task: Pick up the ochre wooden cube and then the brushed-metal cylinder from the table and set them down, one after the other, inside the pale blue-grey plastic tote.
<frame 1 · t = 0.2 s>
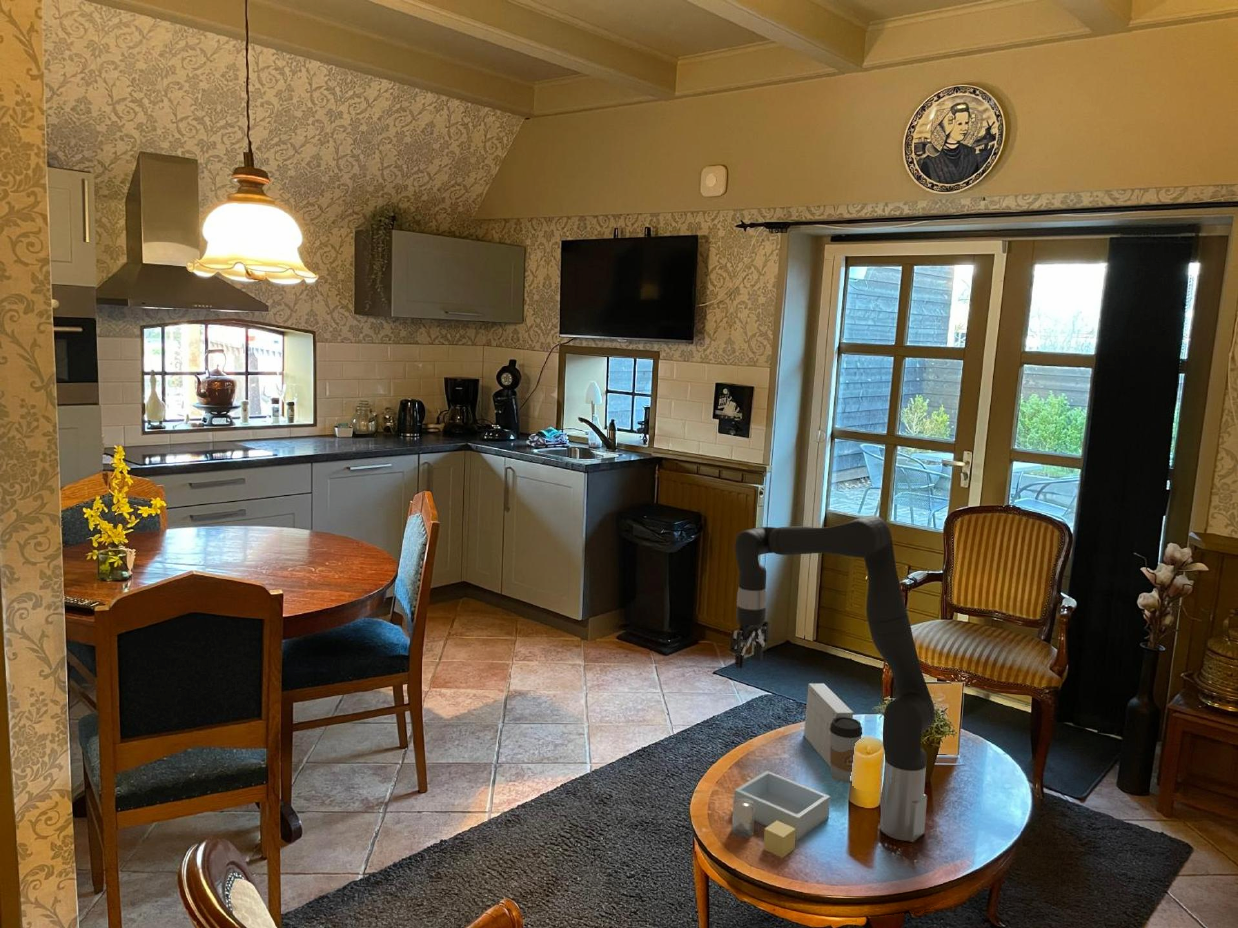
hand: (748, 663, 244), 29 cm above the table, fingers open, 8 cm apart
coffee cup: (842, 777, 244), on the table
skincare box: (825, 751, 259), on the table
ochre cube: (779, 848, 210), on the table
metal cylinder: (742, 831, 217), on the table
tote: (780, 814, 225), on the table
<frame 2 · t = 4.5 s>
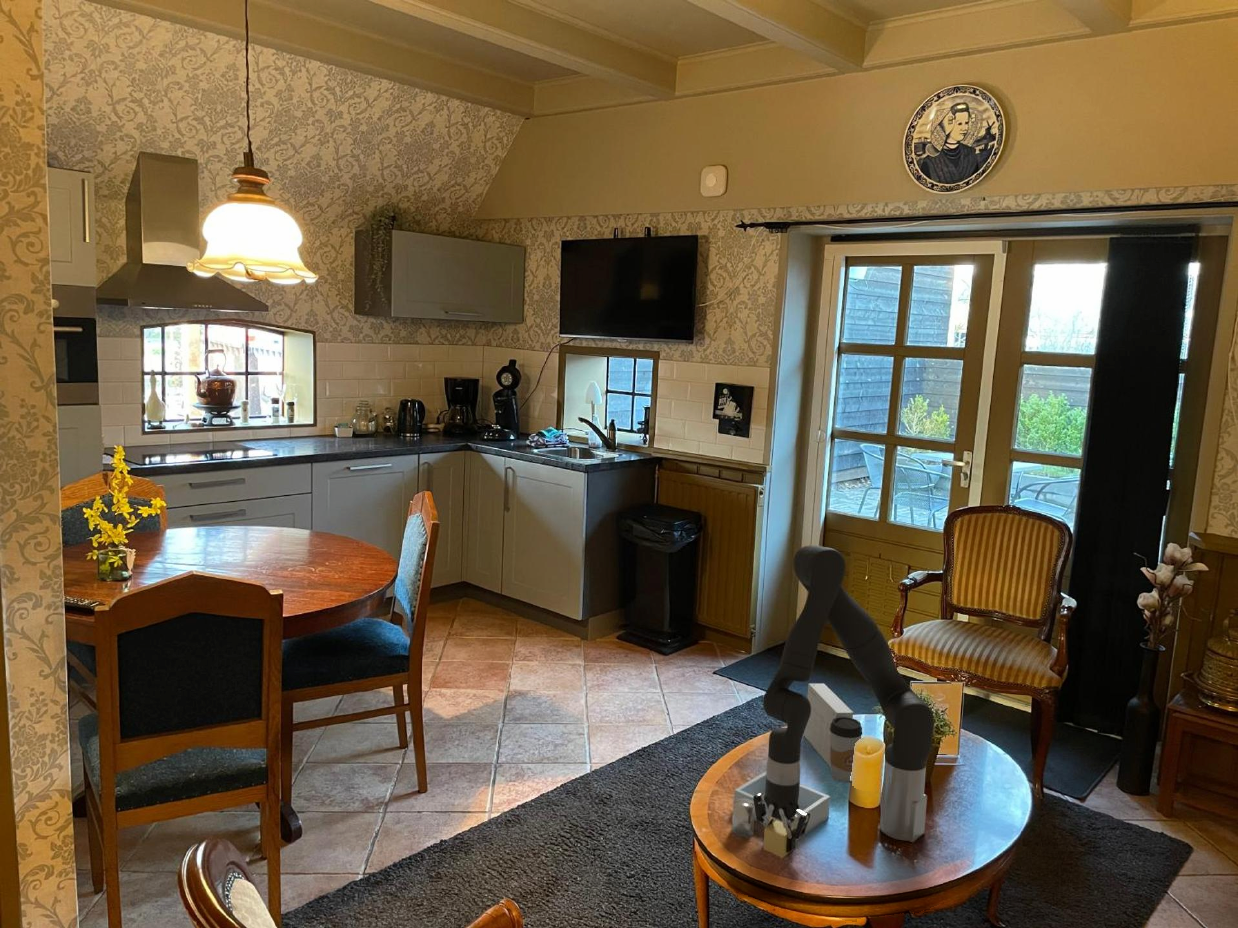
hand: (779, 845, 210), 1 cm above the table, fingers closed on ochre cube, 5 cm apart
ochre cube: (779, 848, 210), on the table, touching gripper
everything else where it was.
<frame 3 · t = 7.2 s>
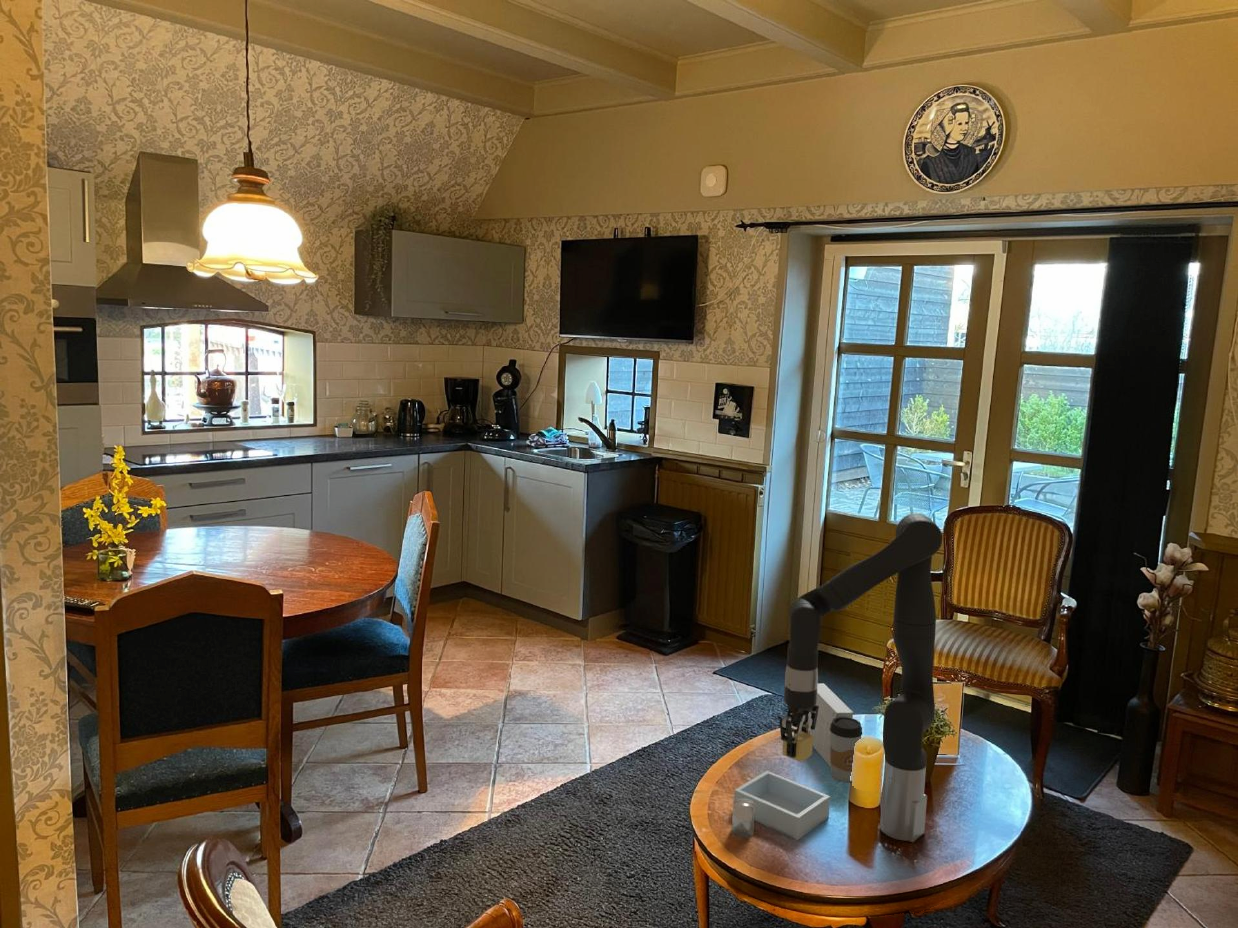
hand: (797, 752, 220), 17 cm above the table, fingers closed on ochre cube, 5 cm apart
ochre cube: (797, 754, 220), point 17 cm above the table, touching gripper
everything else where it was.
when the fingers open (3 cm above the table, at t = 10.3 s): ochre cube drops 2 cm, resting on tote.
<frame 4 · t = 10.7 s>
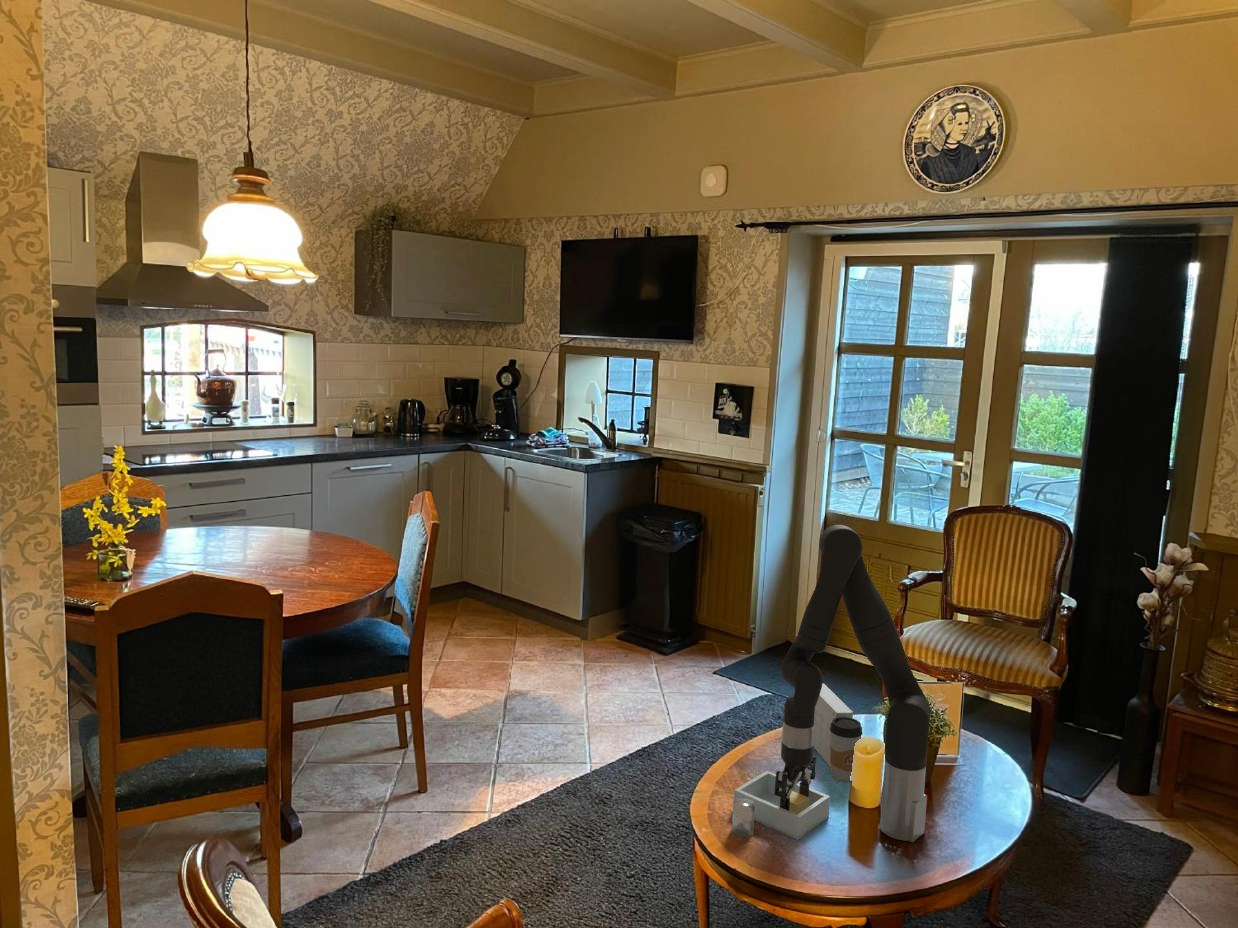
hand: (794, 804, 222), 4 cm above the table, fingers open, 8 cm apart
ochre cube: (793, 817, 222), point 1 cm above the table, touching tote
everything else where it was.
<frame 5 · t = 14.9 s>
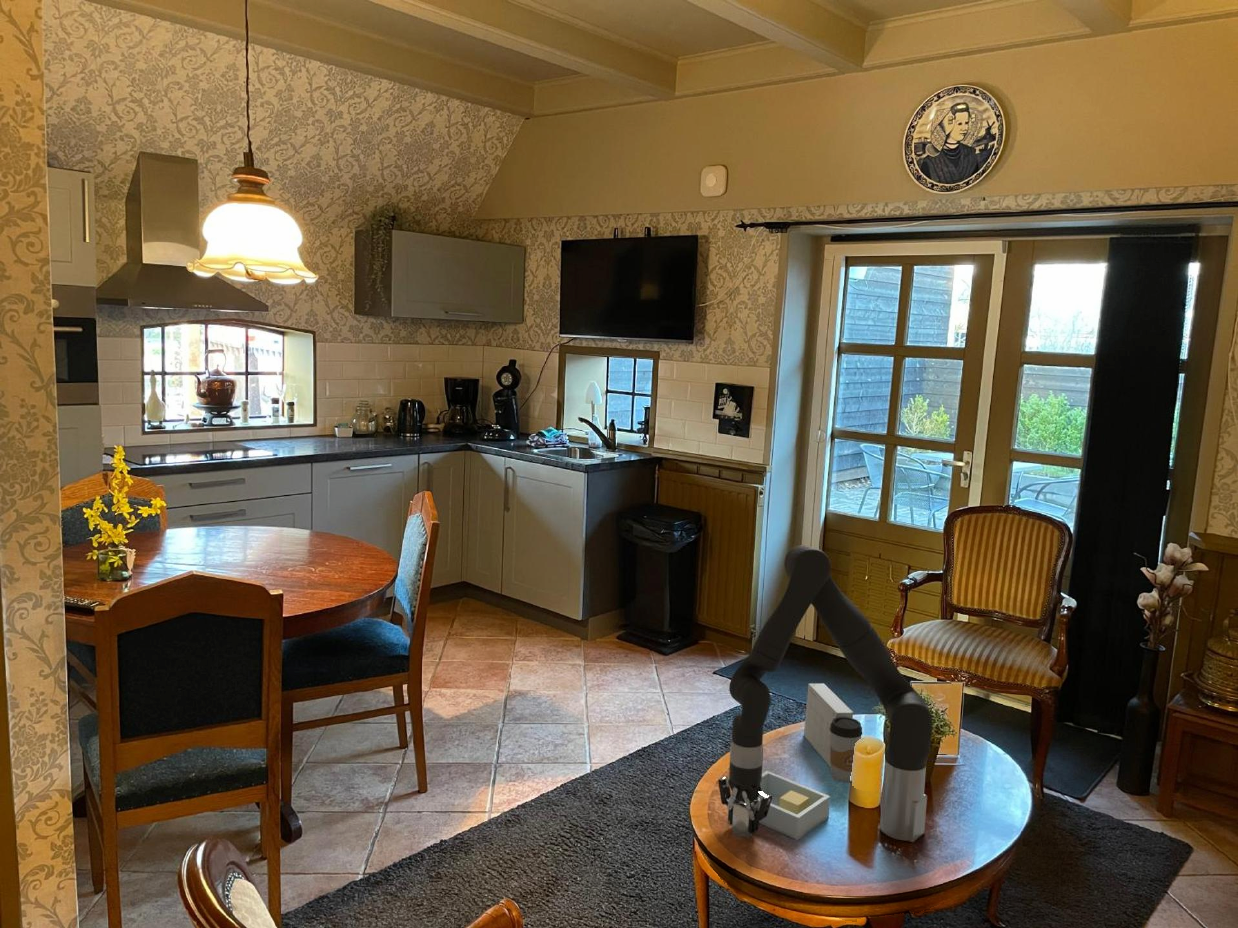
hand: (742, 827, 216), 1 cm above the table, fingers closed on metal cylinder, 5 cm apart
metal cylinder: (742, 831, 217), on the table, touching gripper
everything else where it was.
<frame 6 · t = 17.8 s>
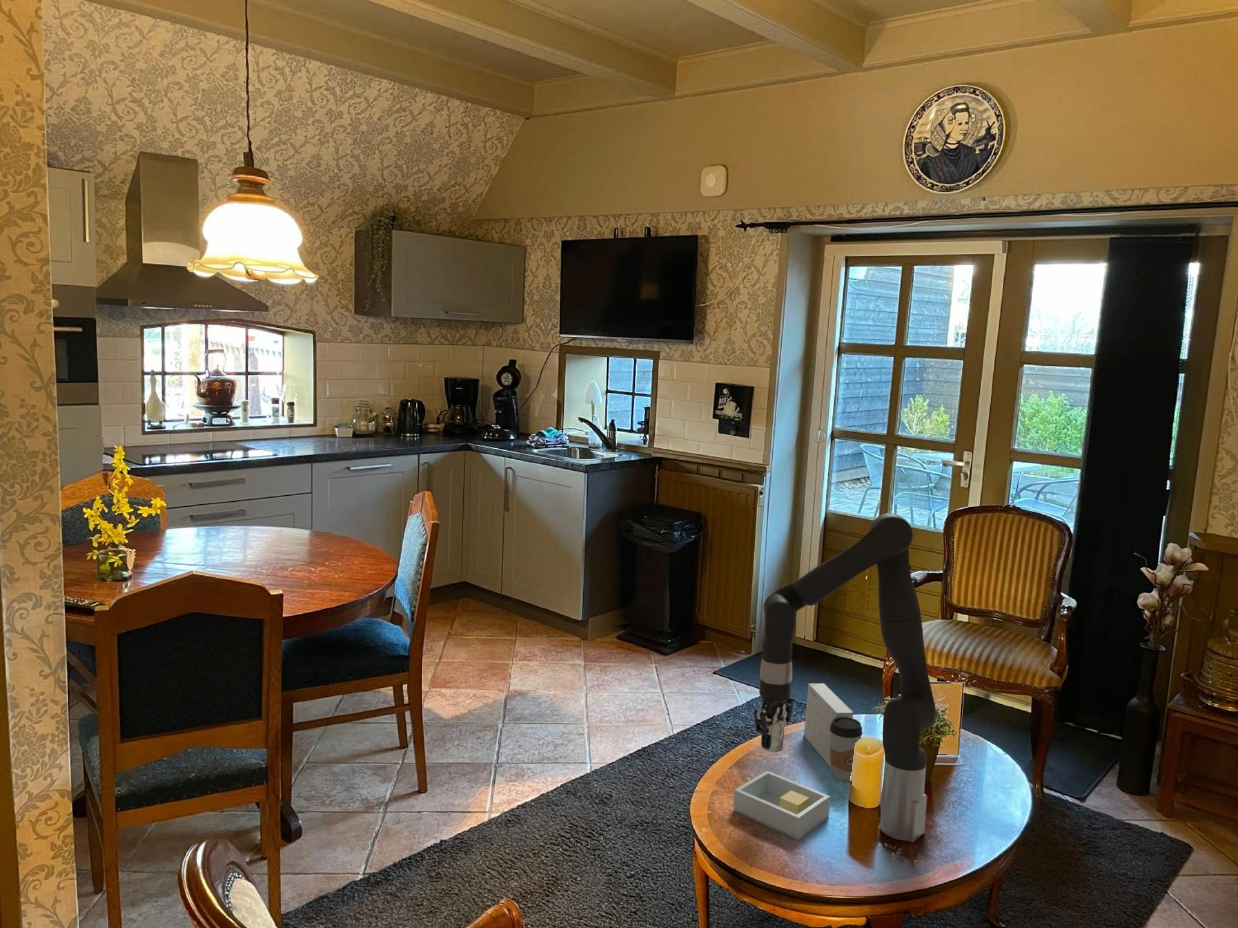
hand: (772, 743, 224), 17 cm above the table, fingers closed on metal cylinder, 5 cm apart
metal cylinder: (772, 747, 225), point 16 cm above the table, touching gripper
everything else where it was.
when the fingers open (4 cm above the table, at t = 20.6 s): metal cylinder drops 2 cm, resting on tote.
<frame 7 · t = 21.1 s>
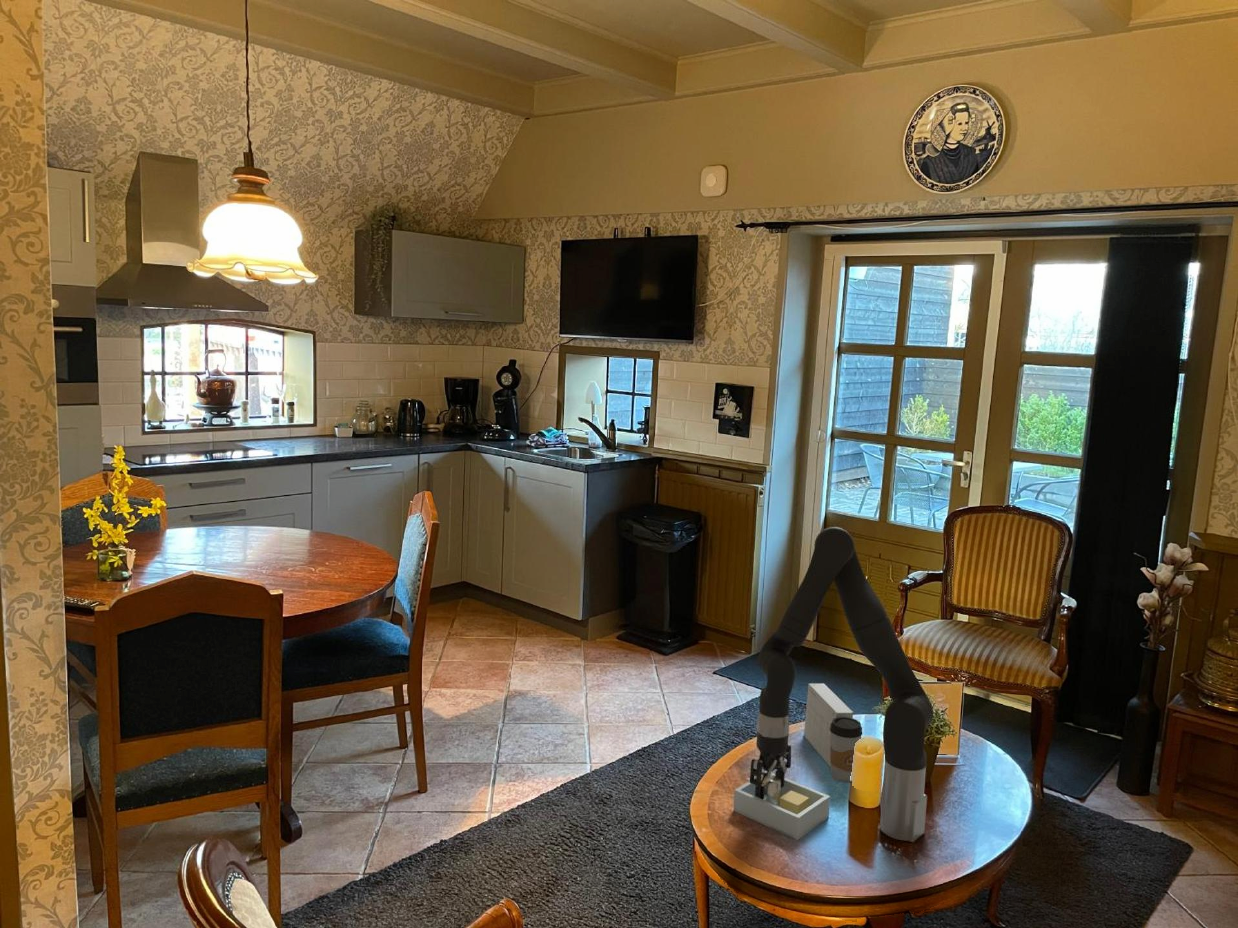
hand: (769, 792, 226), 4 cm above the table, fingers open, 8 cm apart
metal cylinder: (769, 806, 227), point 1 cm above the table, touching tote
everything else where it was.
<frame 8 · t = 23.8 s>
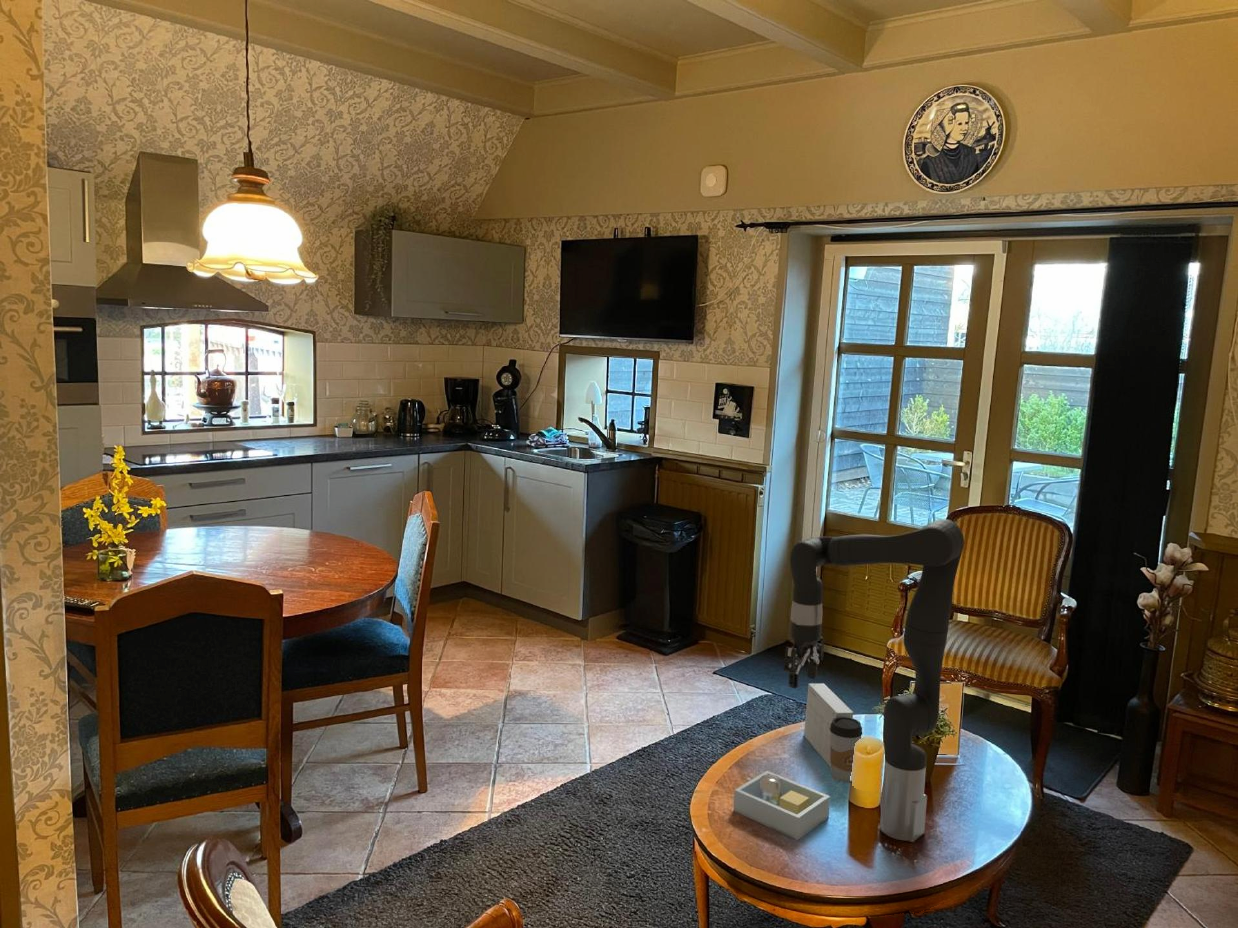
hand: (802, 682, 229), 30 cm above the table, fingers open, 8 cm apart
nothing on the table moved.
at the end: ochre cube inside the target area on the tote (3.4 cm from its centre), point 0.6 cm above the tote's base; metal cylinder inside the target area on the tote (3.5 cm from its centre), point 0.7 cm above the tote's base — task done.
